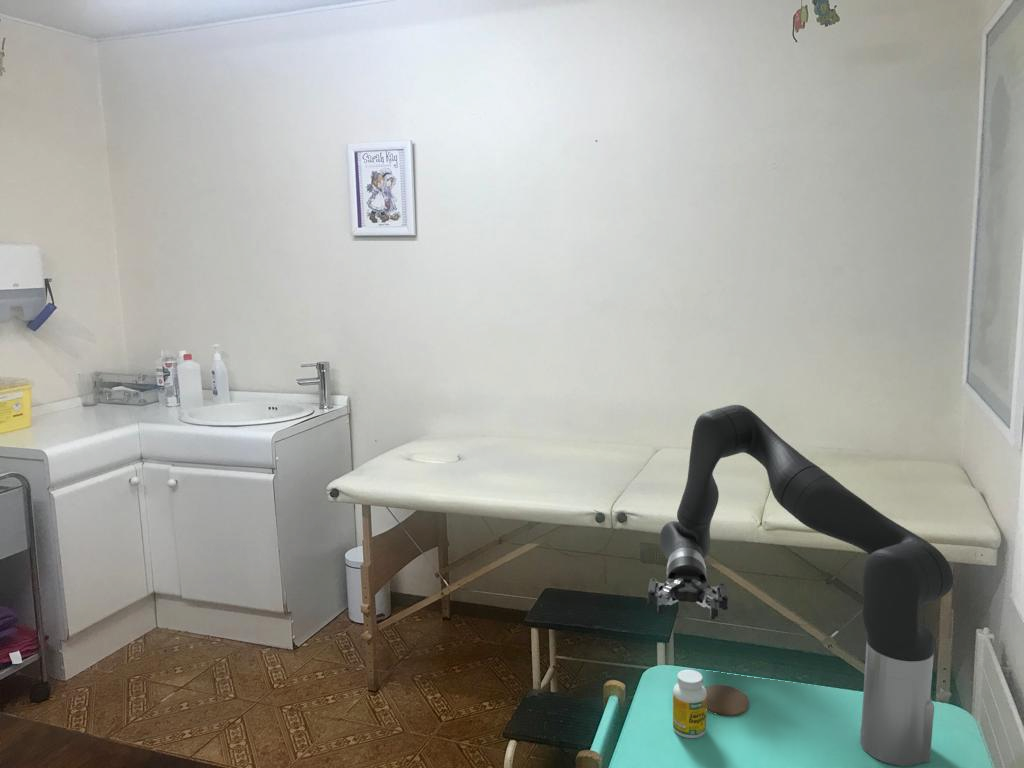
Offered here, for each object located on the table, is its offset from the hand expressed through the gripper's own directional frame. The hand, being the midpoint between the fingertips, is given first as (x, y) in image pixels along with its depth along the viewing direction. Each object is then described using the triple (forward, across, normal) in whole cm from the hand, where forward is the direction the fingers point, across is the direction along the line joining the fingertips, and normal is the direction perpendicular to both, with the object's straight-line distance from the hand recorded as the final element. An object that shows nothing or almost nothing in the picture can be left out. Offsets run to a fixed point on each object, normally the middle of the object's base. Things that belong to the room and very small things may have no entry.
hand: (688, 612), depth 142 cm
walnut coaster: (+4, +6, +14) cm, 16 cm away
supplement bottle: (+13, 0, +14) cm, 19 cm away
